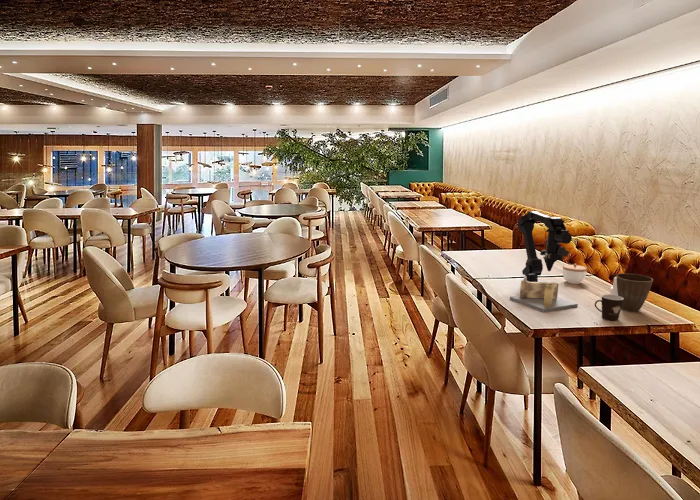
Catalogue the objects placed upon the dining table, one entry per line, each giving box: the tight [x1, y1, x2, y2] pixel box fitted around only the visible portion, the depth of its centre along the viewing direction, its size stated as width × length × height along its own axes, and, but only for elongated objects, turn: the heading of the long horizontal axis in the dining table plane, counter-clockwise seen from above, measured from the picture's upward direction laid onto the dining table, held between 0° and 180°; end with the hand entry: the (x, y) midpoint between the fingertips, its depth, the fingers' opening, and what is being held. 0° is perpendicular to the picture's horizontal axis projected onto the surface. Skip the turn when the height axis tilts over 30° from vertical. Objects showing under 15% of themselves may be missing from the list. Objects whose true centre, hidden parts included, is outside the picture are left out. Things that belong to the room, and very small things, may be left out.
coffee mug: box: [594, 294, 624, 322], centre depth 212 cm, size 12×9×10 cm
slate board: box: [509, 294, 579, 313], centre depth 234 cm, size 22×22×2 cm
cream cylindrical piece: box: [609, 276, 618, 296], centre depth 240 cm, size 9×9×12 cm
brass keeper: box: [543, 282, 557, 307], centre depth 227 cm, size 3×8×11 cm, turn 141°
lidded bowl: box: [562, 263, 588, 285], centre depth 274 cm, size 13×13×11 cm
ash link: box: [519, 279, 560, 299], centre depth 237 cm, size 18×4×8 cm, turn 85°
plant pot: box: [616, 273, 654, 313], centre depth 224 cm, size 15×15×16 cm
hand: (549, 271), depth 248 cm, fingers closed
